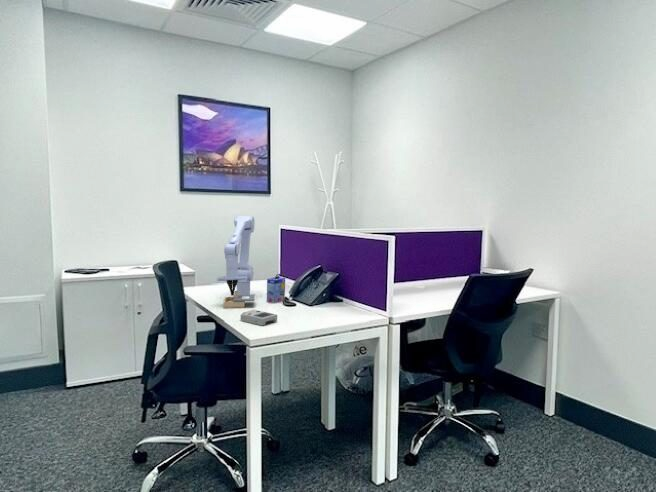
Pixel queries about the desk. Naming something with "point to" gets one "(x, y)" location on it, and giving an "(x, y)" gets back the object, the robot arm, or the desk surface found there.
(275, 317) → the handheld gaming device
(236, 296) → the lid
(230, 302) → the kraft box
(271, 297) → the ink cartridge box
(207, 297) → the desk surface
